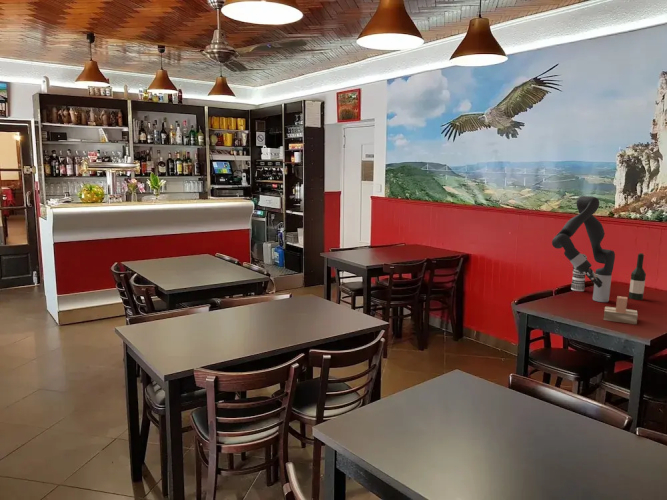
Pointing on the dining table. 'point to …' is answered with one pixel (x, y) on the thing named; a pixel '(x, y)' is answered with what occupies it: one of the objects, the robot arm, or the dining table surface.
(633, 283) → the wine bottle
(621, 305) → the terracotta block
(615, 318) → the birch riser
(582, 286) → the leaning tower model
